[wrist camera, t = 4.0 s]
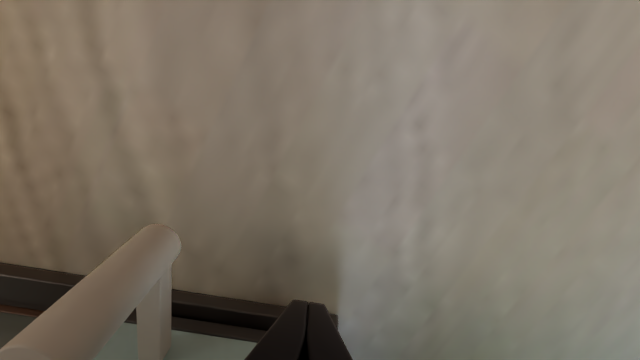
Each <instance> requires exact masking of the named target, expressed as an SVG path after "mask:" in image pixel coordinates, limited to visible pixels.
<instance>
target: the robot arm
mask: <svg viewBox="0 0 640 360" xmlns="http://www.w3.org/2000/svg"><path fill="white" fill-rule="evenodd" d="M244 360H352V358H351V356H350V354H349V352H348V350H347V348H346V346H345V344H344V342H343V340H342V338H341V336H340V334H339V332H338V330H337V328H336V326H335V324H334V322H333V320H332V318H331V316H330V314H329V313H328V311H327V309H326V307H325V305H324V304H320V303H313V302H310V303H309V304H308V302H306V301H301V300H292V301H291V303H290V304H289V305H288V306H287V308H286V309H285V310H284V311H283V312H282V314H281V315H280V316H279V317H278V319H277V320H276V321H275V322H274V324H273V325H272V326H271V327H270V328H269V330H268V331H267V332H266V333H265V335H264V336H263V337H262V338H261V340H260V341H259V342H258V343H257V344H256V346H255V347H254V348H253V349H252V351H251V352H250V353H249V354H248V356H247V357H246V358H245V359H244Z"/></svg>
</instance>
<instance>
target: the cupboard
mask: <svg viewBox="0 0 640 360" xmlns="http://www.w3.org/2000/svg"><path fill="white" fill-rule="evenodd" d="M85 277H86V276H81V275H74V274H68V273H61V272H55V271H48V270H42V269H35V268H29V267H22V266H16V265H10V264H3V263H0V349H1V348H2V347H3V346H5V345H6V344H7V343H8V342H9V341H10V340H12V339H13V338H14V337H15V336H16V335H18V334H19V333H20V332H21V331H22V330H23V329H25V328H26V327H27V326H28V325H29V324H30V323H32V322H33V321H34V320H35V319H36V318H38V317H39V316H40V315H41V314H42V313H43V312H45V311H46V310H47V309H48V308H49V307H50V306H52V305H53V304H54V303H55V302H56V301H58V300H59V299H60V298H61V297H62V296H63V295H65V294H66V293H67V292H68V291H69V290H71V289H72V288H73V287H74V286H75V285H76V284H78V283H79V282H80V281H81V280H82V279H83V278H85ZM286 308H287V307H281V306H274V305H268V304H261V303H255V302H249V301H242V300H236V299H229V298H223V297H216V296H210V295H203V294H197V293H190V292H184V291H177V290H172V294H171V316H173V317H180V318H186V319H193V320H199V321H206V322H212V323H219V324H225V325H232V326H238V327H245V328H251V329H258V330H264V331H268V330H269V328H270V327H271V326H272V325H273V324H274V322H275V321H276V320H277V319H278V317H279V316H280V315H281V314H282V312H283V311H284V310H285V309H286ZM134 311H136V308H135V309H134ZM330 316H331V318H332V320H333V322H334V324H335V326H336V328H337V330H338V316H337V315H332V314H330Z"/></svg>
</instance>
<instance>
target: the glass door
mask: <svg viewBox="0 0 640 360" xmlns="http://www.w3.org/2000/svg"><path fill="white" fill-rule="evenodd" d="M180 251H181V242H180V239H179V237H178V235H177V234H176V233H175V232H174V231H173V230H172V229H171V228H169V227H167V226H165V225H162V224H150V225H147V226H145V227H144V228H142V229H141V230H140V231H139V232H138V233H136V234H135V235H134V236H133V237H132V238H131V239H129V240H128V241H127V242H126V243H125V244H123V245H122V246H121V247H120V248H119V249H118V250H116V251H115V252H114V253H113V254H112V255H111V256H109V257H108V258H107V259H106V260H105V261H103V262H102V263H101V264H100V265H99V266H98V267H96V268H95V269H94V270H93V271H92V272H91V273H89V274H88V275H87V276H86V277H85V278H83V279H82V280H81V281H80V282H79V283H78V284H76V285H75V286H74V287H73V288H72V289H71V290H69V291H68V292H67V293H66V294H65V295H63V296H62V297H61V298H60V299H59V300H58V301H56V302H55V303H54V304H53V305H52V306H50V307H49V308H48V309H47V310H46V311H45V312H43V313H42V314H41V315H40V316H39V317H38V318H36V319H35V320H34V321H33V322H32V323H30V324H29V325H28V326H27V327H26V328H25V329H23V330H22V331H21V332H20V333H19V334H18V335H16V336H15V337H14V338H13V339H12V340H10V341H9V342H8V343H7V344H6V345H5V346H3V347H2V348H1V349H0V360H244V359H245V358H246V357H247V356H248V354H249V353H250V352H251V351H252V349H253V348H254V347H255V346H256V344H257V343H258V342H259V341H260V340H261V338H262V337H263V336H264V335H265V333H266V332H267V331H264V330H258V329H251V328H245V327H238V326H232V325H225V324H219V323H212V322H206V321H199V320H193V319H186V318H180V317H173V316H171V294H172V263H173V261H174V260H175V259H176V258H177V257H178V255H179V254H180ZM135 308H136V311H134V309H135Z"/></svg>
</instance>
